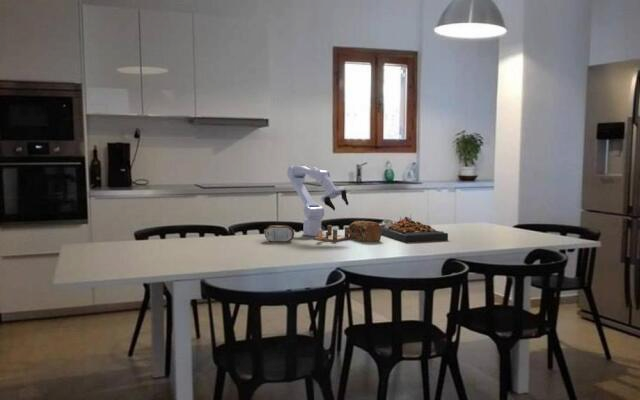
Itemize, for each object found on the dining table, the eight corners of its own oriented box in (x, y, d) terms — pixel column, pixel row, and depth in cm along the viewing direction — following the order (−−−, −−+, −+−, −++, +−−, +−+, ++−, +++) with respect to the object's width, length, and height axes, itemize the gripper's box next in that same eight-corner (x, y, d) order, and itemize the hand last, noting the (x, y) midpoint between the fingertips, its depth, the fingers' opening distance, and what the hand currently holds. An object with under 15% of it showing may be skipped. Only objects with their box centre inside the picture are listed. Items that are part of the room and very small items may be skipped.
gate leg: (323, 237, 285) (324, 228, 285) (327, 238, 284) (327, 228, 284) (317, 239, 281) (317, 229, 280) (320, 239, 279) (320, 229, 279)
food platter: (369, 231, 322) (369, 214, 321) (406, 230, 330) (407, 213, 329) (405, 244, 279) (405, 223, 278) (447, 241, 287) (448, 222, 286)
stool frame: (313, 239, 289) (313, 227, 288) (328, 236, 300) (328, 225, 300) (335, 242, 281) (335, 230, 280) (350, 238, 292) (350, 227, 292)
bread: (381, 241, 284) (382, 222, 283) (363, 242, 280) (363, 223, 279) (365, 236, 301) (365, 218, 300) (347, 237, 297) (347, 219, 296)
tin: (294, 241, 283) (294, 225, 282) (293, 242, 279) (293, 226, 279) (265, 241, 284) (265, 224, 283) (264, 242, 281) (264, 225, 280)
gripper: (317, 187, 286) (328, 206, 278) (342, 178, 290) (353, 197, 282) (317, 196, 292) (328, 215, 284) (341, 187, 295) (353, 205, 288)
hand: (341, 206), depth 283 cm, fingers open, 7 cm apart
